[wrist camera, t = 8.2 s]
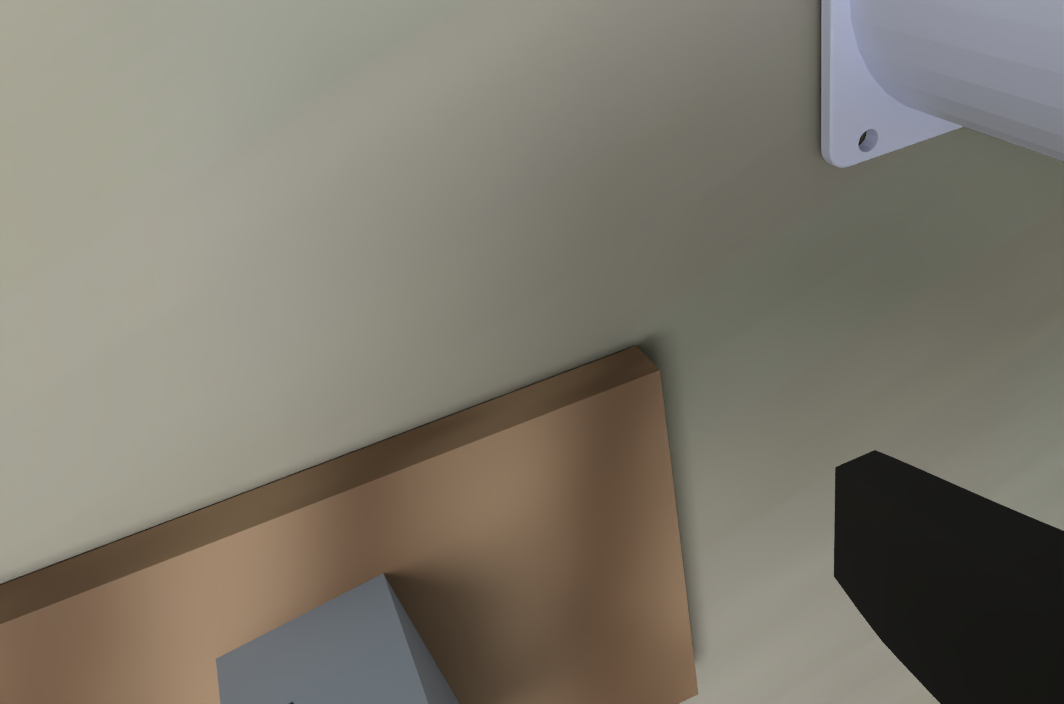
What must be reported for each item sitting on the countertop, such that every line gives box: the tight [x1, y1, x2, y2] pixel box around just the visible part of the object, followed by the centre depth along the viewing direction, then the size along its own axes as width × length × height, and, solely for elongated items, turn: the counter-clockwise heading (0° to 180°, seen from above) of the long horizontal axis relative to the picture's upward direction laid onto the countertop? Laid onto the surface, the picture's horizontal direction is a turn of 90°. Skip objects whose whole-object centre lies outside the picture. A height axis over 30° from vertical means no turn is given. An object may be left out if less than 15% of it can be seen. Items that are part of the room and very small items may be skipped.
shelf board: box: [0, 346, 698, 704], centre depth 23 cm, size 16×12×1 cm
